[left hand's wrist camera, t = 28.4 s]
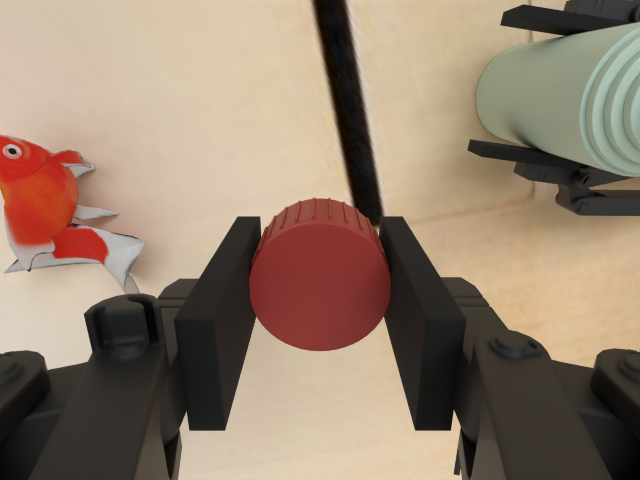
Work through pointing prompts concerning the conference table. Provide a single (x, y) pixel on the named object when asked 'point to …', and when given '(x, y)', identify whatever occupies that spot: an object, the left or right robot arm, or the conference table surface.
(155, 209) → the conference table surface
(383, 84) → the conference table surface
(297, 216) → the cap
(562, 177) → the right robot arm
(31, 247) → the fish
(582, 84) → the bottle
